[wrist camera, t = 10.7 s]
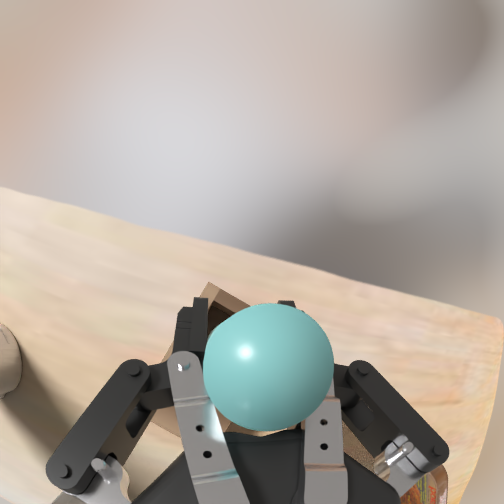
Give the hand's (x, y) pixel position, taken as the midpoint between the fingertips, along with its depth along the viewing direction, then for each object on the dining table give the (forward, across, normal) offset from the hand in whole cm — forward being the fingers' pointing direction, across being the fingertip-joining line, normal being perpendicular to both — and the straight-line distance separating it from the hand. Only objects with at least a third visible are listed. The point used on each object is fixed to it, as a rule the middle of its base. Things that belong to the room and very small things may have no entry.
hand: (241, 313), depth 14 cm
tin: (-7, -26, +30) cm, 41 cm away
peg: (+2, 0, +5) cm, 5 cm away
